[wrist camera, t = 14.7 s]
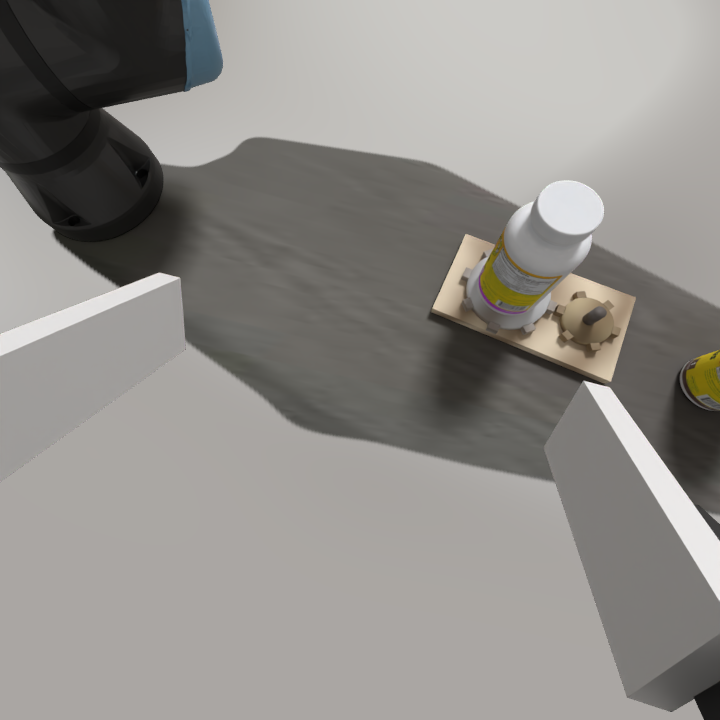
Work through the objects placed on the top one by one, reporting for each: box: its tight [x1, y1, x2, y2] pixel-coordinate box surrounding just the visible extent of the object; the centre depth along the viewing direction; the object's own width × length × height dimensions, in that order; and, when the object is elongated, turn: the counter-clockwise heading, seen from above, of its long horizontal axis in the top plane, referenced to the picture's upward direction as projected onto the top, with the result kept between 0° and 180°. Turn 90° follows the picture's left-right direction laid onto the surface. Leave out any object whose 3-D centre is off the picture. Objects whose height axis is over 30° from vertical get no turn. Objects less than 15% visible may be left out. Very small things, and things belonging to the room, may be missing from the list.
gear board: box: [431, 234, 636, 384], centre depth 38 cm, size 19×10×4 cm, turn 65°
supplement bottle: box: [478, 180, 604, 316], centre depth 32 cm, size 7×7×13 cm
